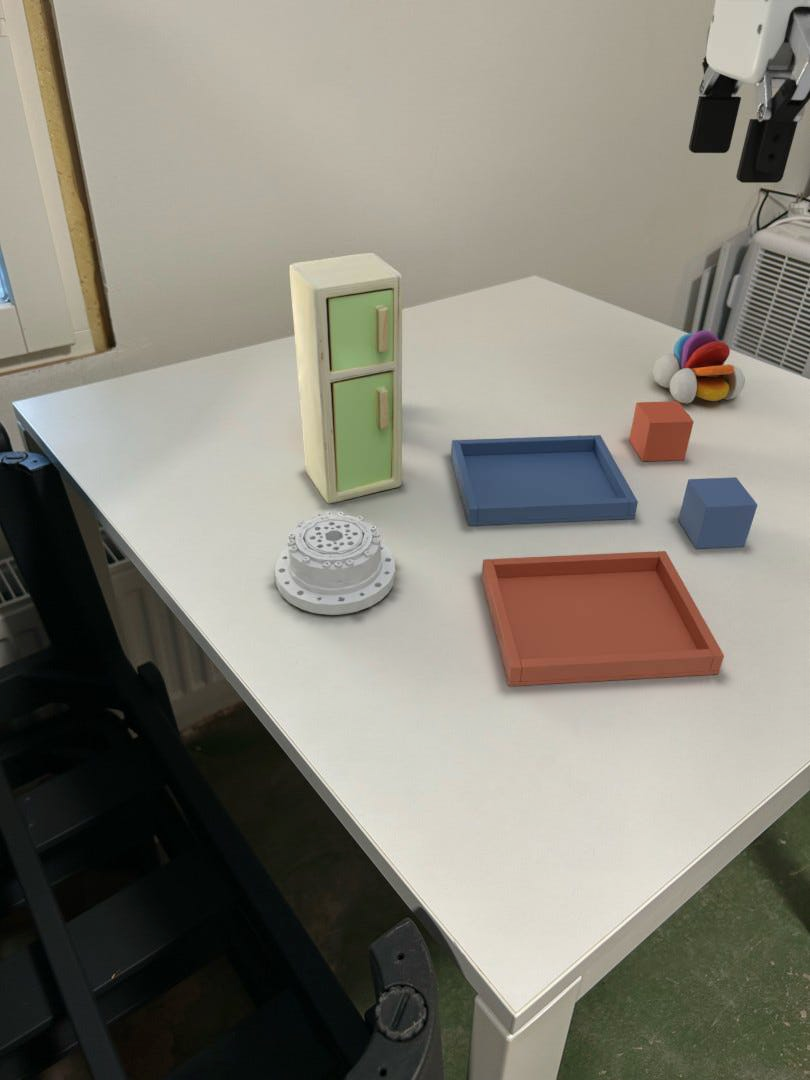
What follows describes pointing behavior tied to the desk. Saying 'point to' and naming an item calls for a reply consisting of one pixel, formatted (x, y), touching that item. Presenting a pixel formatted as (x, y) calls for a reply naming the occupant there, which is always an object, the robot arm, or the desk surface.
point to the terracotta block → (660, 431)
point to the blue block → (717, 512)
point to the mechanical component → (335, 565)
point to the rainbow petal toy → (699, 369)
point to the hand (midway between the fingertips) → (731, 165)
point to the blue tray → (540, 480)
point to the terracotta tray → (596, 619)
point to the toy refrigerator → (349, 372)
